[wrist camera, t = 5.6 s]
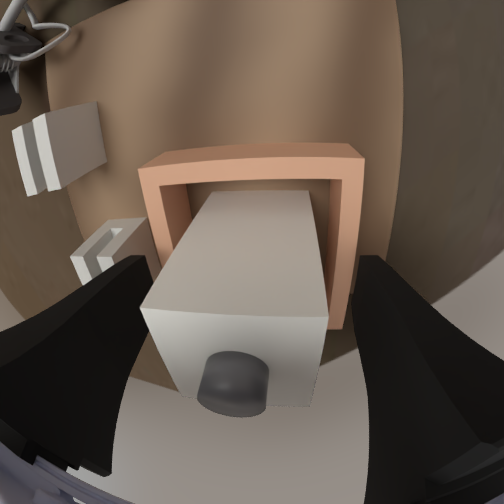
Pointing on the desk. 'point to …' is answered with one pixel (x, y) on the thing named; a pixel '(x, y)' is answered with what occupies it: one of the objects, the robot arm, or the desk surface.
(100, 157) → the clips
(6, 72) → the clip-on lamp
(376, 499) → the robot arm
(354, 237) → the frame
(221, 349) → the connector plug
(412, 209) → the desk surface
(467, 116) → the desk surface
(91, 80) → the board
